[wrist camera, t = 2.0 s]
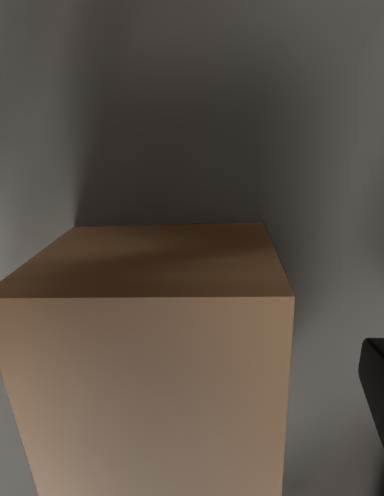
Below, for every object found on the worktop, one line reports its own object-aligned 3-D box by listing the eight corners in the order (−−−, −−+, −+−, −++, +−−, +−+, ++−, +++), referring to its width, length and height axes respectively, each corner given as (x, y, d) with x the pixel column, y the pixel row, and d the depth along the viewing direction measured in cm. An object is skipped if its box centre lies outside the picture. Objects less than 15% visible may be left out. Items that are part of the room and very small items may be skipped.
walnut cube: (262, 220, 9) (295, 297, 5) (258, 375, 11) (280, 516, 7) (75, 225, 9) (-22, 298, 5) (102, 373, 11) (41, 504, 7)
